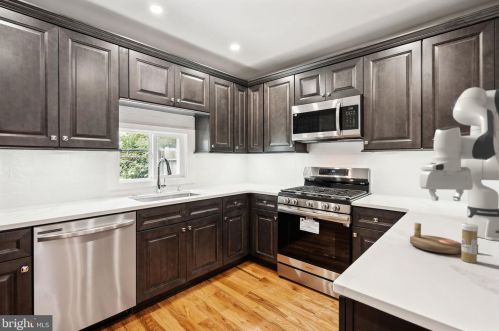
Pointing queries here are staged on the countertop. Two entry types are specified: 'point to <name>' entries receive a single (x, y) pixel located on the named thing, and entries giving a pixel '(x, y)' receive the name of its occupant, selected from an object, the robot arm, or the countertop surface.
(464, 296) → the countertop surface
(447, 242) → the wooden peg stand
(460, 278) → the countertop surface
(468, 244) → the sprinkles bottle
